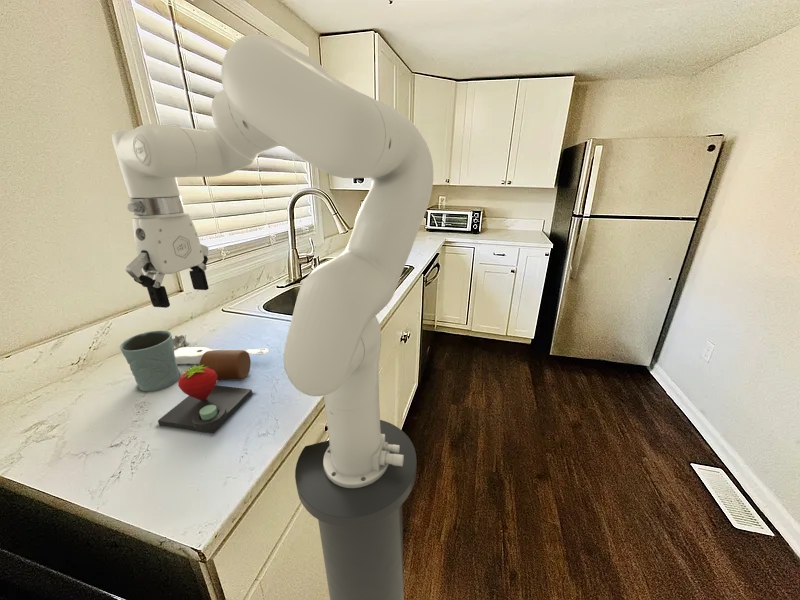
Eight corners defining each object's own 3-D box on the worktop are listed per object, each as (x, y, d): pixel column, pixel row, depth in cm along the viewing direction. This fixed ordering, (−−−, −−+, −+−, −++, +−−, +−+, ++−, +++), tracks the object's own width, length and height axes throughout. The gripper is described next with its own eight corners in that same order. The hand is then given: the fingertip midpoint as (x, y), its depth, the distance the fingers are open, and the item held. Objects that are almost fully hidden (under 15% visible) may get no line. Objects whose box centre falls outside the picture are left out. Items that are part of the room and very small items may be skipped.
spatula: (273, 354, 95) (271, 345, 94) (265, 365, 90) (264, 356, 89) (176, 355, 95) (174, 346, 94) (163, 365, 89) (160, 356, 88)
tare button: (221, 411, 68) (219, 405, 67) (210, 421, 65) (208, 415, 65) (208, 409, 68) (206, 403, 68) (197, 419, 66) (195, 413, 65)
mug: (258, 374, 90) (224, 374, 90) (258, 346, 91) (225, 347, 91) (237, 383, 78) (198, 383, 78) (237, 351, 79) (198, 351, 79)
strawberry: (220, 404, 72) (210, 365, 68) (181, 412, 70) (168, 372, 66) (224, 389, 77) (215, 352, 73) (188, 395, 75) (176, 358, 71)
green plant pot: (171, 366, 89) (159, 327, 85) (191, 377, 84) (179, 336, 80) (127, 385, 81) (112, 343, 77) (146, 399, 76) (130, 354, 72)
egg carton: (163, 345, 100) (159, 333, 99) (190, 342, 102) (187, 330, 101) (149, 363, 91) (145, 350, 89) (180, 358, 93) (177, 346, 91)
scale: (256, 394, 77) (254, 383, 76) (214, 438, 64) (211, 426, 63) (205, 388, 80) (202, 378, 79) (155, 429, 67) (151, 417, 66)
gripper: (130, 213, 49) (161, 316, 55) (211, 203, 65) (229, 284, 71) (90, 213, 51) (125, 313, 57) (179, 203, 67) (199, 283, 73)
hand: (182, 297), depth 64 cm, fingers open, 9 cm apart
